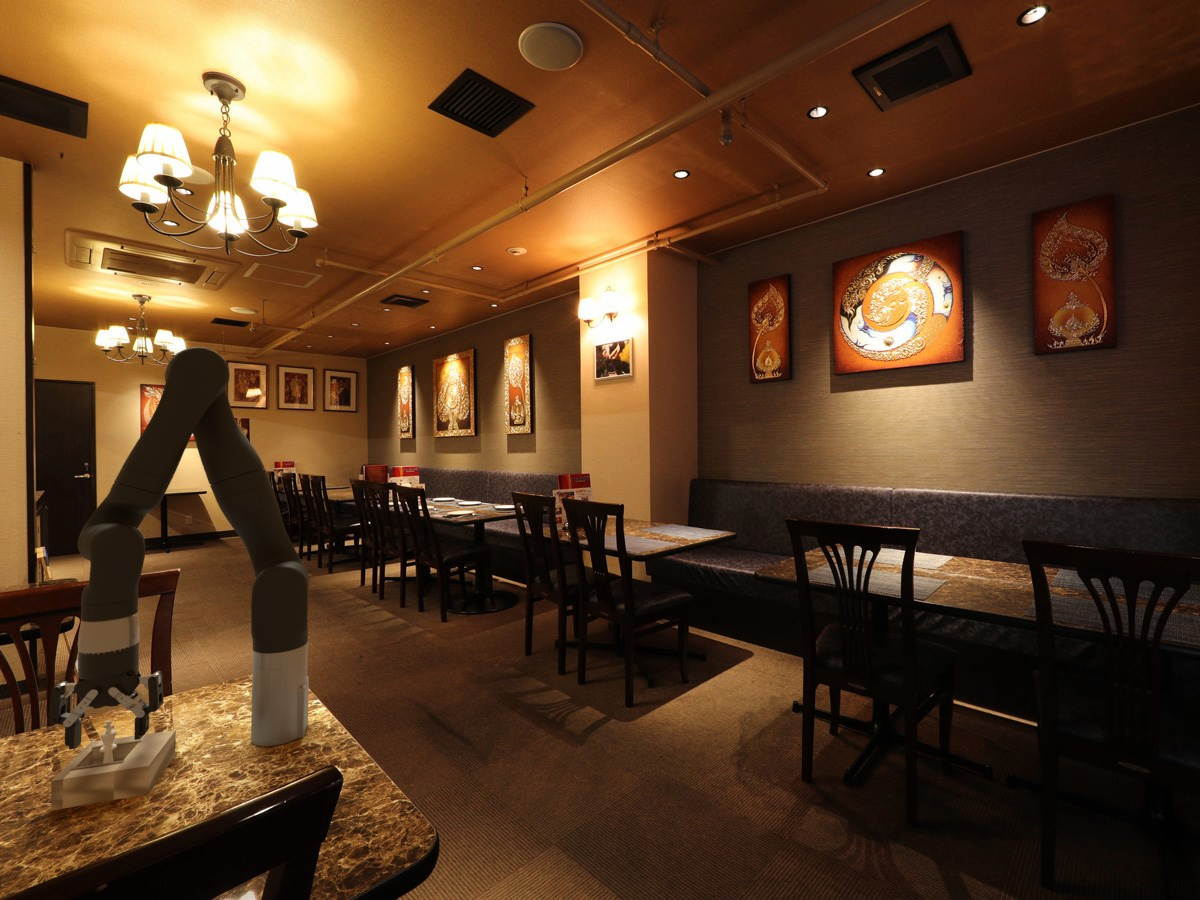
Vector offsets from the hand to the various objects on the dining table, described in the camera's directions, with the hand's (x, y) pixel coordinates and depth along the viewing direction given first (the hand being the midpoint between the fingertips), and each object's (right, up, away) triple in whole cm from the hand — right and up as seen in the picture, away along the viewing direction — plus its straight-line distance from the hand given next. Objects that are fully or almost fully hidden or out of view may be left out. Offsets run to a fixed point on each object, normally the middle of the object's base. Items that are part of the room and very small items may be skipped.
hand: (107, 742), depth 91 cm
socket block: (+1, -7, +1) cm, 7 cm away
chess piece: (0, -7, 0) cm, 7 cm away
